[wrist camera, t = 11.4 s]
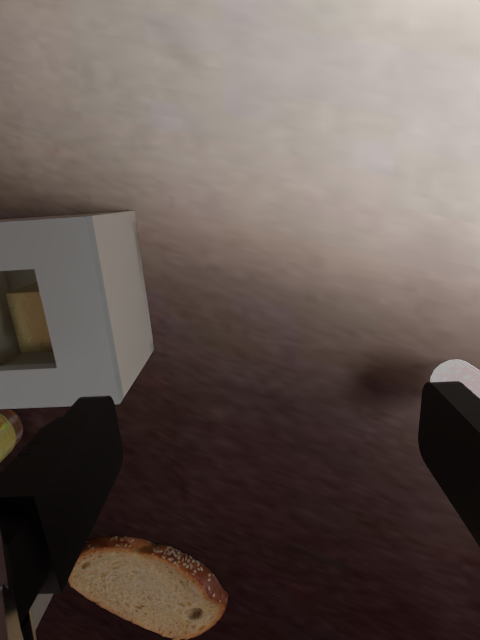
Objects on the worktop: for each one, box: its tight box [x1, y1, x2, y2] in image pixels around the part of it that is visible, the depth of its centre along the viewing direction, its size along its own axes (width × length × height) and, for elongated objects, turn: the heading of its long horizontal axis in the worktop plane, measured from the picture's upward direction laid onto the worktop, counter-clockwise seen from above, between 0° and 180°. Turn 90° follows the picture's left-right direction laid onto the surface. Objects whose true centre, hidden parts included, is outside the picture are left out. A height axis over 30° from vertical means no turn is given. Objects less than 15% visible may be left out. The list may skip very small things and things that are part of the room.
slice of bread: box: [68, 536, 228, 640], centre depth 49 cm, size 18×18×4 cm
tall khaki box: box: [6, 282, 53, 352], centre depth 34 cm, size 5×3×7 cm, turn 3°
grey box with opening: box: [0, 211, 154, 409], centre depth 33 cm, size 14×14×11 cm
